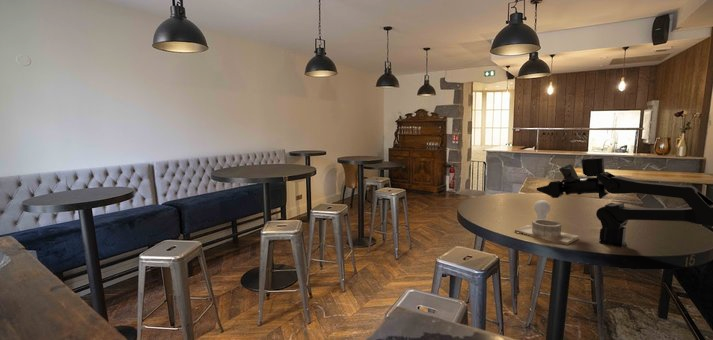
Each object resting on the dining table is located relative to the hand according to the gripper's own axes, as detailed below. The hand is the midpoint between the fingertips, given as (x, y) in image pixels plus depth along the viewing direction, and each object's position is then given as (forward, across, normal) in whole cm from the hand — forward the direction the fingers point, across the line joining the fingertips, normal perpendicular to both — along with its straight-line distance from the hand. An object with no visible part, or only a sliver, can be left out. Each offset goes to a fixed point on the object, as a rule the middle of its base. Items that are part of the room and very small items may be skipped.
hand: (542, 187), depth 140 cm
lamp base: (-4, +10, +18) cm, 20 cm away
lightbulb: (+4, -2, +17) cm, 17 cm away
